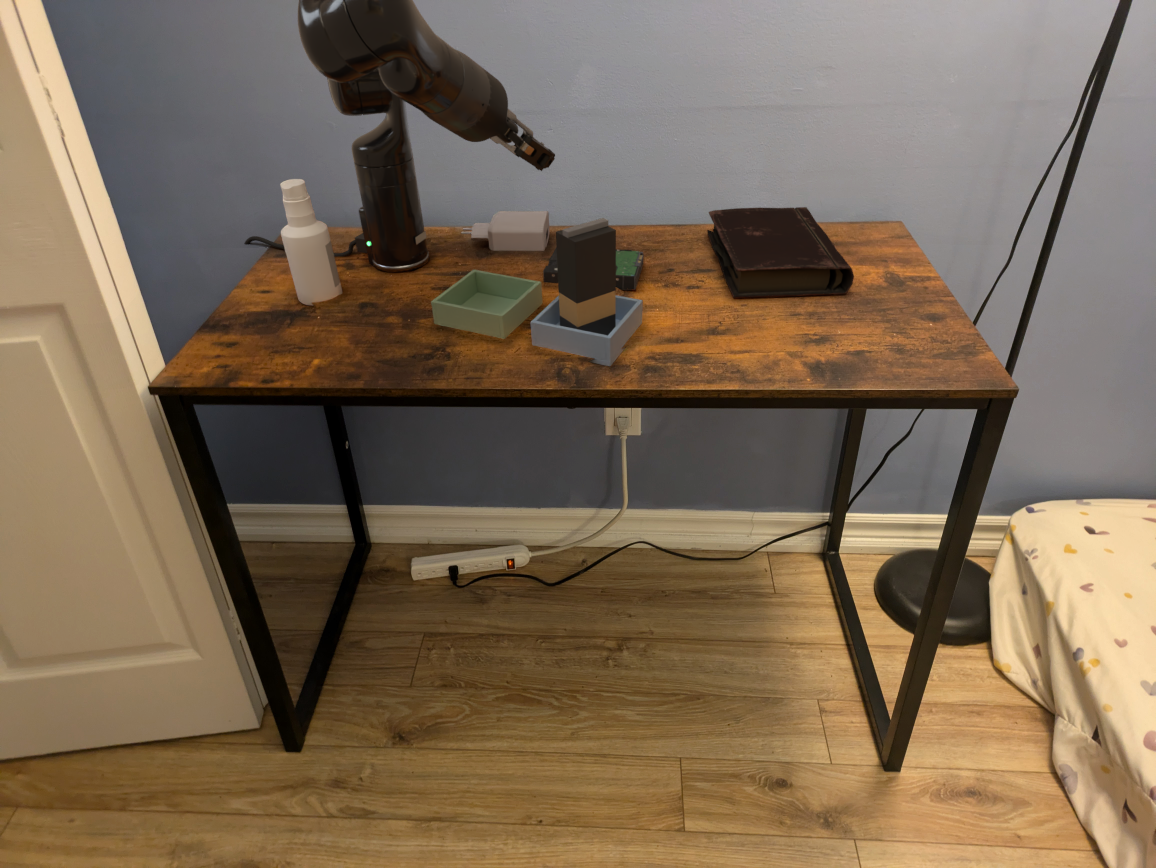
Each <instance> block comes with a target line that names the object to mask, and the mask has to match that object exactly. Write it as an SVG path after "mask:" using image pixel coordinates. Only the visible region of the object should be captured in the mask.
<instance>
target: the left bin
mask: <svg viewBox="0 0 1156 868" xmlns="http://www.w3.org/2000/svg"><path fill="white" fill-rule="evenodd" d="M542 284H543V283H542V281H540V280H534V279H528V278H523V277H518V276H517V277H516V276H512V275H507V274H501V273H495V272H490V271H485V270H478V269H472V270H471V271H470V272H467V274H465V275H464V276H463V277H462V278H461V279H459V280H458V281H456V282H455V283H454V284H452V285H451V286H450V287H448V288H447V289H446V290H445V291H443V292H442V293H440V294H439V295H437V297H436V296H435V298H433V299H432V300H431V301H430V305H431V312H432V317H433V324H434V325H438V326H443V327H448V328H452V329H457V330H460V331H466V332H471V333H475V334H479V335H485V336H490V337H494V338H498V339H502V340H504V339H507V338H508V337H509V336H510V335H511V333H513V332H514V331H515V330H516V329H517V328H518V327H519V326H520V325H521V324H522V323H523V322H525V321H526V320H527V319H528V318H529V317H530V316H531V315H533V314H534V313H535V311H537V309H538V308H540V307H541V306H542V305H543V303H544V302H543V301H544V300H543V285H542Z"/></svg>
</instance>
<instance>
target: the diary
mask: <svg viewBox="0 0 1156 868" xmlns="http://www.w3.org/2000/svg"><path fill="white" fill-rule="evenodd" d="M708 215H709V217H710V219H711V221H712V223H713V228H712V230H709V229H707V230H706V232H707V236H708V239H709V242H710V244H711V248H712V249H713V252H714V254H715V256H716V258H717V260H718V262H719V265H720V268H721V272H722V274H723V277H724V280H725V282H726V285H727V287H728V290H729V291H730V293H731V295H732V298H733V299H743V298H768V297H769V298H770V297H771V298H774V297H798V296H799V297H800V296H824V295H825V296H827V295H828V296H829V295H830V296H831V295H846V294H847V293H848V292H849V291H850V289H851V287H852V285H853V283H854V279H855V274H854V270H853V268H852V267H851V265H850V264H849V262H847V260H846V259H845V258H844V257H843V255H842V254H841V253H840V252H839V251H838V249H837V248H836V246H835V245H834V243H833V242H832V240H831V238H830V236H828V234H827V233H826V231H825V230H824V229H823V228H822V227H821V226H820V224H818V222H817V221H816V219H815V217H814V216H813V214H812V213H811V211H810V209H809V208H808V207H807V206H800V207H797V206H796V207H737V208H736V207H735V208H725V209H715V210H714V209H713V210H711V211H708Z"/></svg>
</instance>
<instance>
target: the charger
mask: <svg viewBox="0 0 1156 868" xmlns="http://www.w3.org/2000/svg"><path fill="white" fill-rule="evenodd" d="M549 213H550V212H549V211H548V210H510V211H509V210H500V211H497V212H496V213H494V214H493V215H492V217H491V219H490V222H474V223H473V225H472V227H463V228H462V230H463V231H460V234H461V235H470V239H471V241H488V248H489V250H490V251H493V252H545V249H546V248H547V247H548V243H549V239H550V214H549Z"/></svg>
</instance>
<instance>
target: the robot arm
mask: <svg viewBox="0 0 1156 868" xmlns="http://www.w3.org/2000/svg"><path fill="white" fill-rule="evenodd" d="M297 27H298V33H299V38H300V42H301V44H302V48H303V50H304V53H305V55H306V57H307V58H308V60H309V61H310V63H311V64H312V66H313V67H314V68H315V70H316V71H318V73H320V74H321V75H322V76H324V77H325V78H326V80H327V81H326V82H327V86H328V91H329V95H330V98H331V100H332V103H333V105H334V107H335V109H336V110H337V111H338V112H339V113H340V114H341V115H344V116H348V117H358V116H359V117H361V116H370V115H379V114H385V116H384V118H383V120H382V121H381V122H380V123H379V124H378V125H377V126H376V127H375V128H373V129H372V130H370V131H368V132H366V133H363V134H362V135H360V136H358V137H357V138H356V139H355V140H353V141H352V144H351V155H352V160H353V165H354V169H355V175H356V180H357V184H358V189H359V195H360V200H361V204H362V206H361V207H359V209H358V215H359V220H360V224H361V229H362V233H360V234H358V235H357V236H355V237H354V239H353V240H352V241H350V242H349V243H348V249H347V250H346V251H343V252H333V253H334V257H335V258H337V257H338V258H341V257H342V258H344V257H348V256H350V255H352V254H353V252H354V247H355V246H356V251H357V252H358V253H362V254H367V260H368V264H369V265H373V266H374V267H375V268H376V269H378V270H379V271H383V272H387V273H401V272H407V271H412V270H416V269H418V268H421V267H423V266H425V265H426V264H427V263H428V262H429V260H430V254H429V250H428V245H427V231H426V230H425V225H424V224H425V223H424V217H423V211H422V203H421V197H420V192H419V191H420V190H419V185H418V178H417V171H416V165H415V159H414V153H413V148H412V147H413V146H412V142H411V135H410V129H409V121H408V112H407V104H408V105H410V106H412V107H414V108H415V109H417V110H419V111H420V112H421V113H422V114H423V115H424V116H425V117H427V118H428V119H429V120H431V121H432V122H434V123H435V124H437V125H439V126H441V127H443V128H444V129H446V130H448V131H449V132H451V133H452V134H455V136H458V137H459V138H461V139H463V140H465V141H468V142H471V143H480V142H485V141H487V140H489V139H490V140H491V141H492V142H494V143H495V144H497V145H498V144H500V145H501V146H502V147H504V148H505V149H507V150H508V151H509V152H510V153H512V155H515V156H516V157H517V158H520V159H522V160H524V162H526V163H528V164H530V165H532V167H535V169H536V170H537V171H540V172H543V170H544V169H547V168H548V169H549V168H550V166H551V165H552V164H553V162H554V161H555V160H556V158H555V157H556V153H555V152H553V150H551V149H550V148H548V147H547V146H546V145H545V143H544V142H542V141H539V140H538V139H537V138H536V137H534V131H533V130H532V129H531V128H530V127H528V126H527V125H526V124H525V123H523V122H522V121H521V120H520V119H518V117H517V115H516V114H515V113H514V112H513V111H512V110H511V109H509V98H508V94H507V91H506V89H505V87H504V85H503V84H502V83H501V81H500V80H499V79H497V77H495V76H494V75H493V74H491V73H490V72H489V71H487V70H486V69H485V68H484V67H483V66H481V65H480V64H478V62H477V61H475V60H473V59H472V58H471V57H470V56H468V55H467V54H466V53H464V52H462V51H460V50H458V49H456V48H454V47H452V46H451V45H450V44H449V43H447V42H446V41H445V39H442V38H441V37H440V36H439V35H437V34H436V33H435V32H434V31H433V29H432V28H431V27H430V25H429V23H427V21H426V19H425V18H424V16H423V15H422V14H421V12H420V11H419V9H418V7H417V6H416V3H415V1H414V0H298V5H297ZM518 126H519V127H518ZM519 128H521V129H522V133H521V135H518V134H519ZM511 143H513V144H511ZM252 242H260V243H263V244H266V245H268V246H269V247H272V248H276V249H280V250H285V248H284V244H283V243H282V244H281V243H277V242H274V241H272V240H269V239H267V238H264V237H263V236H256V235H252V236H249V237H248V238H247V239H246V240H245V241H244V245H250V244H251V243H252Z"/></svg>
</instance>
